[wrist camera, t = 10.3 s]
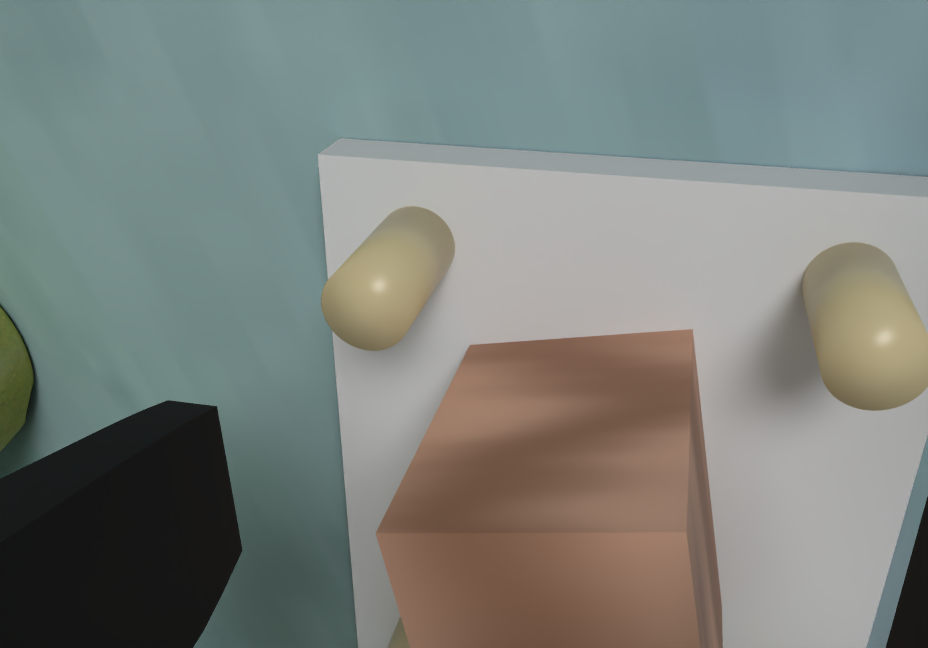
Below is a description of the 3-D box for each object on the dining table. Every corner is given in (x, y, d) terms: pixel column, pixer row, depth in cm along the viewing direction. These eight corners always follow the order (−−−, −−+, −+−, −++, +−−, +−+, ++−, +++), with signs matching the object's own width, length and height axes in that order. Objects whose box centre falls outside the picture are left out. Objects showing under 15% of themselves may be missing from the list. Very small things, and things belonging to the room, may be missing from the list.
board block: (692, 328, 17) (686, 532, 12) (721, 606, 20) (726, 869, 14) (469, 345, 18) (375, 533, 13) (527, 601, 21) (468, 840, 16)
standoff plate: (975, 179, 16) (1058, 274, 12) (828, 718, 22) (851, 884, 18) (340, 138, 18) (247, 204, 14) (374, 630, 24) (316, 762, 21)
